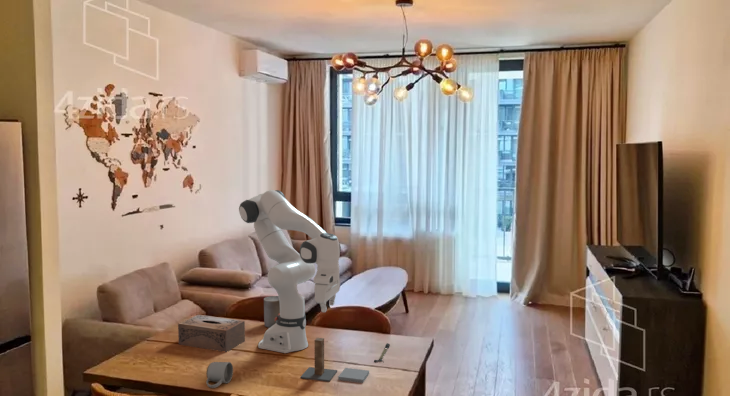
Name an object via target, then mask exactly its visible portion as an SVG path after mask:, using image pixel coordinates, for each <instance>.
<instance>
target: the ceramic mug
mask: <svg viewBox="0 0 730 396" xmlns="http://www.w3.org/2000/svg"><path fill="white" fill-rule="evenodd" d="M205 373H206V378H207V379H206V382H205V383H206V386H207V387H208V388H210V389H215V388H218V387H220V385H222V384H229V383H230V382H231V380H232V379H233V375H234V366H233V364H232V363H231V362H230V361H213V362H210V363H209V364H208V366H207V368H206V372H205ZM209 382H214V383H215V384H214V383H213V384H209Z"/></svg>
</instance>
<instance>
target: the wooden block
mask: <svg viewBox="0 0 730 396" xmlns="http://www.w3.org/2000/svg"><path fill="white" fill-rule="evenodd" d="M314 368H315V375H323V373H324V369H325V338H323V337H316V338H315V339H314Z"/></svg>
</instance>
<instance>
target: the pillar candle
mask: <svg viewBox="0 0 730 396" xmlns="http://www.w3.org/2000/svg"><path fill="white" fill-rule="evenodd" d="M279 313H280V302H279V296H278V295H269V296H265V297H264V298H263V319H264V320H263V321H264V323H263V324H264V327H267V328H268V329H269V328H270V327H271V326H273V325H274V324H275V323H276V321H275V318H276V317H277V316H278V314H279Z"/></svg>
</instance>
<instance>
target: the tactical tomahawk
mask: <svg viewBox="0 0 730 396" xmlns="http://www.w3.org/2000/svg"><path fill="white" fill-rule="evenodd" d="M390 346H391V344H390V343H387V342H386V344H385V346H384V348H383V350H382V352H381V354H380V356H379V358H378V359H374V361H373V362H374V363H378V362H383V360H382V359H384V357H383V356H385V355H386V354H387V352H388V350H387V349H385V348H388V349H389V348H390ZM384 354H385V355H384Z"/></svg>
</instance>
